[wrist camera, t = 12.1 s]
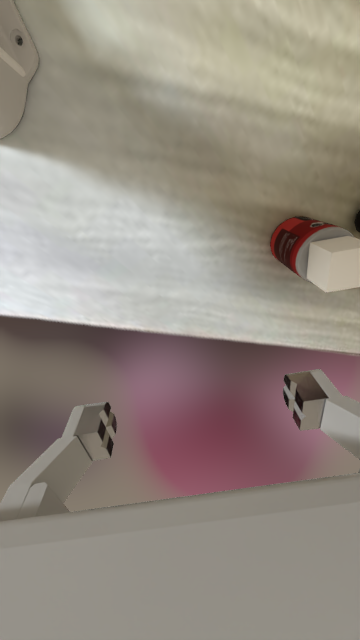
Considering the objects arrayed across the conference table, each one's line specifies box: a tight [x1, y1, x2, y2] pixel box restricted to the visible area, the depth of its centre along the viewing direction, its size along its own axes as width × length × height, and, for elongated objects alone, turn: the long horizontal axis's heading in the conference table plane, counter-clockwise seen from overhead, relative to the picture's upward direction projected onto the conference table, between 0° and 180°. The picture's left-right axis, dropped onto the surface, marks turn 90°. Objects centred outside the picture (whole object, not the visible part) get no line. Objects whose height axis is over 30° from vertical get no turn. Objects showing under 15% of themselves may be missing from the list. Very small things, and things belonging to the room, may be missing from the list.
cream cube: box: [306, 236, 360, 293], centre depth 31 cm, size 5×5×5 cm
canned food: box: [270, 216, 355, 283], centre depth 38 cm, size 8×8×11 cm
